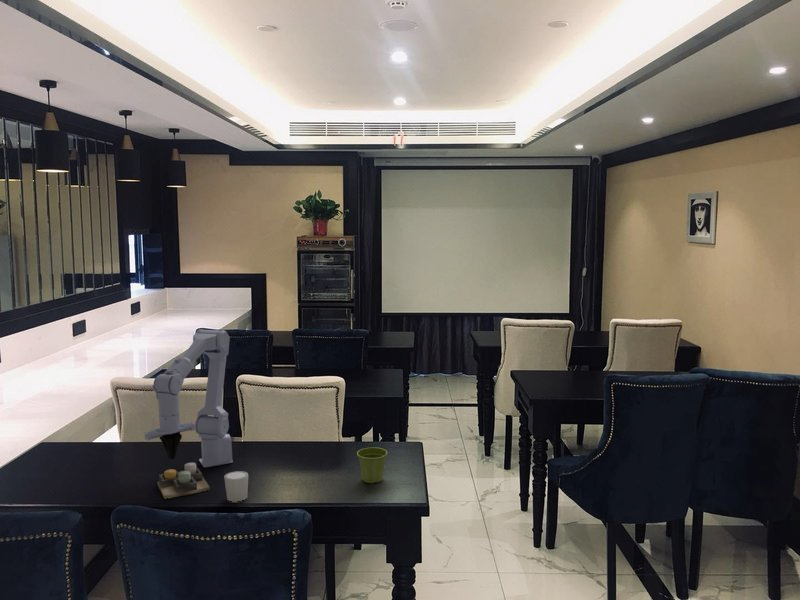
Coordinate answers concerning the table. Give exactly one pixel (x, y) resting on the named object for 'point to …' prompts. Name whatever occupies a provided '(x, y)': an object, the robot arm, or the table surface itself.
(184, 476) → the sage button
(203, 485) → the button panel board
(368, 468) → the plant pot
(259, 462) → the table surface
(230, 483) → the white cup
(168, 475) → the amber button
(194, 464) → the white small cylinder
